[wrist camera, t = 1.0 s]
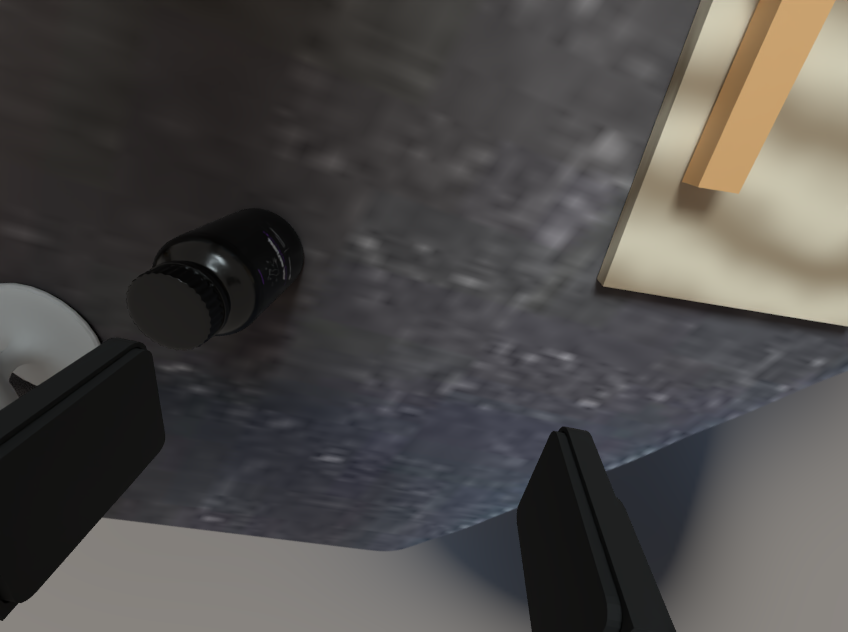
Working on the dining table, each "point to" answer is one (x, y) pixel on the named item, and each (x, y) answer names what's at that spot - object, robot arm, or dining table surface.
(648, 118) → the dining table surface
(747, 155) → the link
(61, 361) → the chalice
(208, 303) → the supplement bottle
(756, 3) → the pivot board
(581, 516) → the robot arm
